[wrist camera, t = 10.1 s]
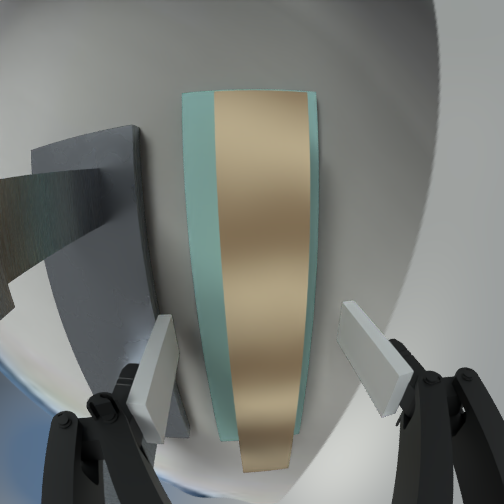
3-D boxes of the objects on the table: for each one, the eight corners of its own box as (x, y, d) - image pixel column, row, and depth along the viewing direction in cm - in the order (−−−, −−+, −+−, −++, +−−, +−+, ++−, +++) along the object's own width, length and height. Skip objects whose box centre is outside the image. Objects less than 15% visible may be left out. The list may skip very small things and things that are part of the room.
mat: (183, 96, 13) (182, 93, 12) (312, 94, 13) (315, 92, 13) (220, 436, 20) (220, 441, 20) (297, 429, 21) (298, 433, 20)
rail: (217, 111, 13) (213, 91, 9) (285, 111, 13) (307, 92, 9) (240, 435, 20) (243, 472, 16) (280, 432, 20) (288, 468, 16)
